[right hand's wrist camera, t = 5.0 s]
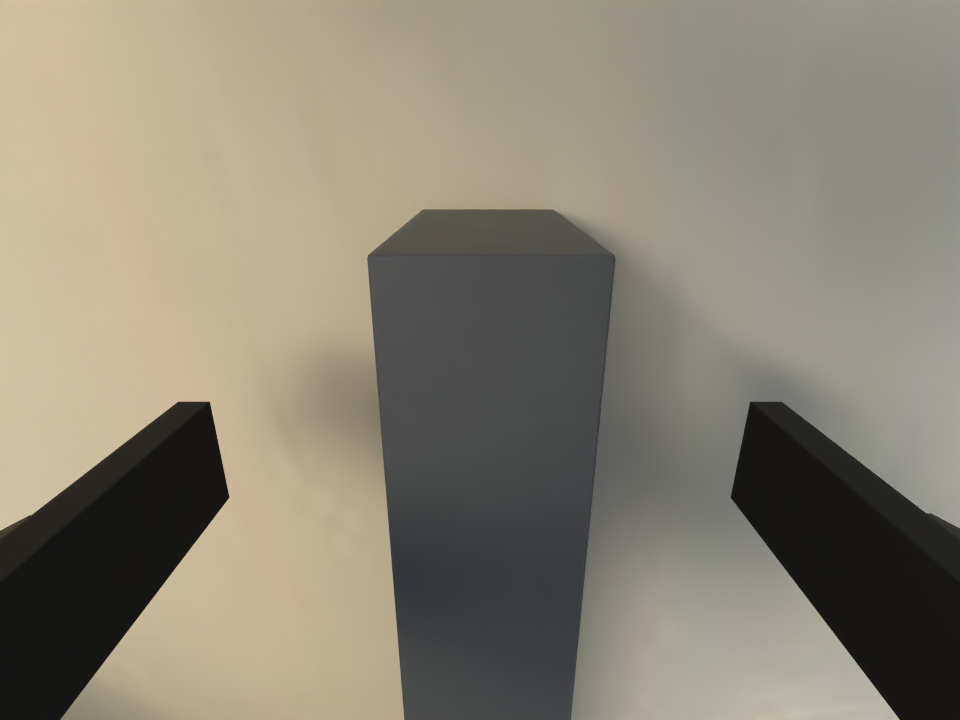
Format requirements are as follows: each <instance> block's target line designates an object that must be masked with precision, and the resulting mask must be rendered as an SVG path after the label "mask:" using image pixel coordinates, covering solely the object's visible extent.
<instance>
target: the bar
mask: <svg viewBox="0 0 960 720" xmlns="http://www.w3.org/2000/svg"><path fill="white" fill-rule="evenodd" d="M367 259H368V271H369V284H370V296H371V309H372V321H373V334H374V346H375V358H376V371H377V383H378V396H379V408H380V421H381V433H382V446H383V458H384V470H385V483H386V495H387V508H388V520H389V533H390V545H391V558H392V570H393V582H394V595H395V607H396V620H397V632H398V645H399V657H400V670H401V682H402V694H403V707H404V719H405V720H571V710H572V700H573V689H574V679H575V669H576V659H577V648H578V638H579V628H580V617H581V607H582V597H583V586H584V576H585V566H586V555H587V545H588V535H589V525H590V514H591V504H592V494H593V483H594V473H595V463H596V452H597V442H598V432H599V421H600V411H601V401H602V391H603V380H604V370H605V360H606V349H607V339H608V329H609V318H610V308H611V298H612V287H613V277H614V267H615V256H614V255H613V254H612V253H610V252H609V251H608V250H606V249H605V248H604V247H602V246H601V245H600V244H598V243H597V242H596V241H594V240H593V239H592V238H590V237H589V236H588V235H586V234H585V233H584V232H582V231H581V230H580V229H578V228H577V227H576V226H574V225H573V224H572V223H570V222H569V221H567V220H566V219H565V218H563V217H562V216H561V215H559V214H558V213H557V212H555V211H554V210H422V211H421V212H420V213H418V214H417V215H416V216H415V217H414V218H412V219H411V220H410V221H409V222H408V223H406V224H405V225H404V226H403V227H402V228H400V229H399V230H398V231H397V232H396V233H394V234H393V235H392V236H391V237H390V238H388V239H387V240H386V241H385V242H384V243H382V244H381V245H380V246H379V247H378V248H376V249H375V250H374V251H373V252H372V253H370V254H369V255H368V258H367Z"/></svg>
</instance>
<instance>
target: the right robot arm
mask: <svg viewBox="0 0 960 720" xmlns="http://www.w3.org/2000/svg"><path fill="white" fill-rule="evenodd" d="M228 499H229V494H228V489H227V484H226V479H225V474H224V469H223V464H222V459H221V454H220V450H219V445H218V440H217V435H216V430H215V425H214V420H213V415H212V411H211V406H210V402H177V403H176V404H175V405H174V406H172V407H171V408H170V409H168V410H167V411H166V412H164V413H163V414H162V415H161V416H159V417H158V418H157V419H155V420H154V421H153V422H152V423H150V424H149V425H148V426H146V427H145V428H144V429H142V430H141V431H140V432H139V433H137V434H136V435H135V436H133V437H132V438H131V439H130V440H128V441H127V442H126V443H124V444H123V445H122V446H121V447H119V448H118V449H117V450H115V451H114V452H113V453H111V454H110V455H109V456H108V457H106V458H105V459H104V460H102V461H101V462H100V463H99V464H97V465H96V466H95V467H93V468H92V469H91V470H90V471H88V472H87V473H86V474H84V475H83V476H82V477H80V478H79V479H78V480H77V481H75V482H74V483H73V484H71V485H70V486H69V487H68V488H66V489H65V490H64V491H62V492H61V493H60V494H59V495H57V496H56V497H55V498H53V499H52V500H51V501H49V502H48V503H47V504H46V505H44V506H43V507H42V508H40V509H39V510H38V511H37V512H35V513H34V514H33V515H31V516H28V517H26V518H24V519H22V520H20V521H18V522H16V523H14V524H12V525H10V526H8V527H6V528H5V529H3V530H1V531H0V720H60V719H61V718H62V716H63V715H64V714H65V713H66V711H67V710H68V709H69V707H70V706H71V705H72V703H73V702H74V701H75V699H76V698H77V697H78V695H79V694H80V693H81V692H82V690H83V689H84V688H85V686H86V685H87V684H88V682H89V681H90V680H91V678H92V677H93V676H94V674H95V673H96V672H97V671H98V669H99V668H100V667H101V665H102V664H103V663H104V661H105V660H106V659H107V657H108V656H109V655H110V653H111V652H112V651H113V649H114V648H115V647H116V646H117V644H118V643H119V642H120V640H121V639H122V638H123V636H124V635H125V634H126V632H127V631H128V630H129V628H130V627H131V626H132V625H133V623H134V622H135V621H136V619H137V618H138V617H139V615H140V614H141V613H142V611H143V610H144V609H145V607H146V606H147V605H148V604H149V602H150V601H151V600H152V598H153V597H154V596H155V594H156V593H157V592H158V590H159V589H160V588H161V586H162V585H163V584H164V583H165V581H166V580H167V579H168V577H169V576H170V575H171V573H172V572H173V571H174V569H175V568H176V567H177V565H178V564H179V563H180V562H181V560H182V559H183V558H184V556H185V555H186V554H187V552H188V551H189V550H190V548H191V547H192V546H193V544H194V543H195V542H196V541H197V539H198V538H199V537H200V535H201V534H202V533H203V531H204V530H205V529H206V527H207V526H208V525H209V523H210V522H211V521H212V520H213V518H214V517H215V516H216V514H217V513H218V512H219V510H220V509H221V508H222V506H223V505H224V504H225V502H226V501H227V500H228ZM731 499H732V500H733V501H734V502H735V504H736V505H737V506H738V508H739V509H740V510H741V512H742V513H743V514H744V516H745V517H746V518H747V520H748V521H749V522H750V523H751V525H752V526H753V527H754V529H755V530H756V531H757V533H758V534H759V535H760V537H761V538H762V539H763V541H764V542H765V543H766V544H767V546H768V547H769V548H770V550H771V551H772V552H773V554H774V555H775V556H776V558H777V559H778V560H779V562H780V563H781V564H782V565H783V567H784V568H785V569H786V571H787V572H788V573H789V575H790V576H791V577H792V579H793V580H794V581H795V583H796V584H797V585H798V586H799V588H800V589H801V590H802V592H803V593H804V594H805V596H806V597H807V598H808V600H809V601H810V602H811V604H812V605H813V606H814V607H815V609H816V610H817V611H818V613H819V614H820V615H821V617H822V618H823V619H824V621H825V622H826V623H827V625H828V626H829V627H830V628H831V630H832V631H833V632H834V634H835V635H836V636H837V638H838V639H839V640H840V642H841V643H842V644H843V646H844V647H845V648H846V649H847V651H848V652H849V653H850V655H851V656H852V657H853V659H854V660H855V661H856V663H857V664H858V665H859V667H860V668H861V669H862V671H863V672H864V673H865V674H866V676H867V677H868V678H869V680H870V681H871V682H872V684H873V685H874V686H875V688H876V689H877V690H878V692H879V693H880V694H881V695H882V697H883V698H884V699H885V701H886V702H887V703H888V705H889V706H890V707H891V709H892V710H893V711H894V713H895V714H896V715H897V716H898V718H899V719H900V720H960V528H958V527H956V526H954V525H952V524H950V523H948V522H946V521H944V520H942V519H940V518H939V517H937V516H935V515H933V514H926V513H925V512H923V511H922V510H921V509H920V508H918V507H917V506H916V505H914V504H913V503H912V502H911V501H909V500H908V499H907V498H905V497H904V496H903V495H901V494H900V493H899V492H898V491H896V490H895V489H894V488H892V487H891V486H890V485H889V484H887V483H886V482H885V481H883V480H882V479H881V478H880V477H878V476H877V475H876V474H874V473H873V472H872V471H870V470H869V469H868V468H867V467H865V466H864V465H863V464H861V463H860V462H859V461H858V460H856V459H855V458H854V457H852V456H851V455H850V454H849V453H847V452H846V451H845V450H843V449H842V448H841V447H839V446H838V445H837V444H836V443H834V442H833V441H832V440H830V439H829V438H828V437H827V436H825V435H824V434H823V433H821V432H820V431H819V430H818V429H816V428H815V427H814V426H812V425H811V424H810V423H808V422H807V421H806V420H805V419H803V418H802V417H801V416H799V415H798V414H797V413H796V412H794V411H793V410H792V409H790V408H789V407H788V406H786V405H785V404H784V403H783V402H750V406H749V410H748V415H747V420H746V425H745V430H744V435H743V440H742V445H741V450H740V454H739V459H738V464H737V469H736V474H735V479H734V484H733V489H732V494H731Z"/></svg>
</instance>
